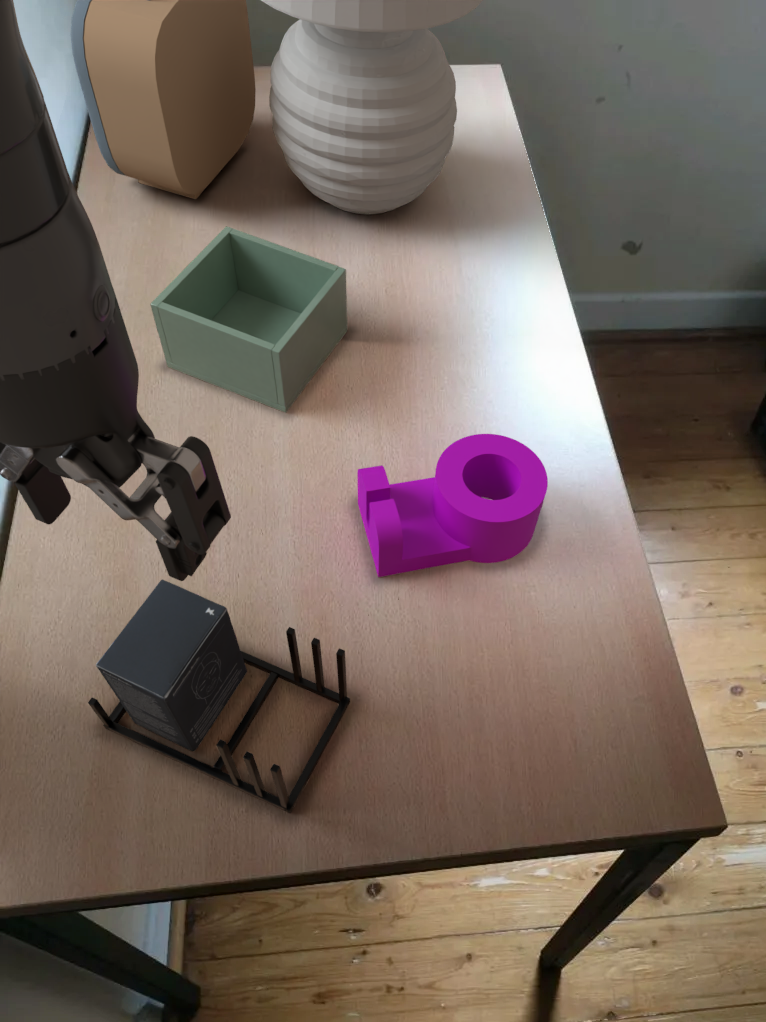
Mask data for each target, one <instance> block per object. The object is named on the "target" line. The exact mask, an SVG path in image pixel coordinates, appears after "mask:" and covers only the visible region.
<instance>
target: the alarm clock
mask: <svg viewBox="0 0 766 1022" xmlns="http://www.w3.org/2000/svg"><path fill="white" fill-rule="evenodd" d="M75 1H76V2H75V4H74V8H73V11H72V15H71V19H70V20H71V22H70V24H71V25H70V43H71V53H72V58H73V63H74V66H75V70H76V74H77V78H78V81H79V85H80V87H81V91H82V95H83V99H84V102H85V105H86V109H87V113H88V116H89V120H90V124H91V126H92V127H91V128H92V129H93V134H94V137H95V140H96V143H97V146H98V149H99V151H100V154H101V156H102V158H103V160H104V161H105V163H106V164H107V166H108V167H109V168H110V169H111V170H112V171H113V172H114V173H116V174H118V175H122V176H125V177H128V178H131V179H135V180H137V182H138V184H141V185H145V186H148V187H152V188H155V189H159V190H162V191H166V192H169V193H172V194H176V195H180V196H183V197H187V198H190V199H193V200H197V199H198V198H199V197H200V196H201V194H202V193H203V192H204V191H205V189H206V188H207V187H208V186H209V185H210V184H211V183H212V181H214V179H215V178H216V177H217V176H218V175H219V174H220V172H221V170H223V168H224V167H225V166H226V165H227V164H228V163H229V162H230V161H231V160H232V158H233V157H234V156H235V155H236V153H238V151H239V150H240V148H241V147H242V145H243V144H244V142H245V140H246V139H247V137H248V135H249V134H250V131H251V127H252V124H253V121H254V117H255V116H254V115H255V109H256V92H257V91H256V76H255V67H254V57H253V50H252V49H253V48H252V42H251V41H252V40H251V39H252V38H251V33H250V32H251V31H250V23H249V22H250V21H249V13H248V5H247V0H75Z"/></svg>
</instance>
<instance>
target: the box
mask: <svg viewBox="0 0 766 1022" xmlns="http://www.w3.org/2000/svg"><path fill="white" fill-rule="evenodd" d="M241 651H242V650H241V647H240V645H239V642H238V638H237V635H236V631H235V630H234V626H233V623H232V620H231V617H230V614H229V611H228V608H227V607H226V606H225V605H222V604H220V603H217V602H215V601H213V600H210V599H208V598H206V597H204V596H201V595H199V594H197V593H195V592H192V591H190V590H188V589H186V588H183V587H182V586H179V585H177V584H175V583H172V582H170V581H168V580H164V579H160V580H159V582H158V583H157V584H156V586H155V587H154V588H153V589H152V591H151V592H150V593H149V595H148V596H147V598H146V599H145V600H144V601H143V602H142V604H141V606H139V608H138V609H137V610H136V612H135V613H134V614H133V616H132V617H131V619H130V620H129V621H128V623H127V624H126V625H125V626H124V627H123V629H122V630H121V632H119V634H118V636H116V638H115V639H114V641H112V643H111V644H110V645H109V647H108V648H107V649H106V651H105V652H104V653H103V655H102V656H101V657H100V659H98V661H97V662H96V664H95V667H96V668H97V670H98V671H99V672H100V674H101V676H102V677H103V678H104V680H105V681H106V683H107V685H108V686H109V687H110V689H111V690H112V692H113V694H114V695H115V697H116V698H117V699H118V701H119V702H121V704H122V705H123V707H124V708H125V710H126V713H127V715H128V716H129V717H130V719H131V720H132V721H133V723H134V724H135V725H137V726H139V727H141V728H144V729H146V730H148V731H149V732H151V733H154V734H155V735H157V736H160V737H161V738H164V739H166V740H168V741H169V742H172V743H174V744H176V745H178V746H180V747H182V748H183V749H186V750H188V751H190V752H195V751H196V750H197V749H198V748H199V746H200V745H201V744H202V742H203V741H204V739H205V737H206V736H207V735H208V732H209V731H210V730H211V728H212V727H213V725H214V724H215V723H216V721H217V719H218V717H219V716H220V715H221V713H222V711H223V710H224V709H225V707H226V706H227V704H228V702H229V701H230V699H231V698H232V697H233V695H234V694H235V692H236V690H237V688H239V686H240V684H241V682H242V681H243V679H244V678H245V676H246V675H247V673H248V669H247V666H246V663H244V660H243V656H242V653H241Z"/></svg>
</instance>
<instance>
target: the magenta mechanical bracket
mask: <svg viewBox="0 0 766 1022" xmlns="http://www.w3.org/2000/svg"><path fill="white" fill-rule="evenodd" d="M434 472H435V473H434V476H433V477H427V478H426V477H425V478H422V479H415V480H408V481H403V482H396V483H390V482H389V479H388V475H387V472H386V469H385V467H384V466H383V465H375V466H369V467H363V468H358V469H357V506H358V509H359V510H358V511H359V513H360V517H361V520H362V524H363V527H364V530H365V535H366V538H367V541H368V546H369V548H370V554H371V556H372V560H373V563H374V567H375V572H376V574H377V577H378V578H382V577H383V578H384V577H388V576H393V575H399V574H404V573H408V572H409V573H410V572H414V571H421V570H424V569H430V568H435V567H442V566H447V565H451V564H457V563H463V562H474V563H479V564H496V563H501V562H504V561H507V560H511V559H512V558H514V557H517V556H518V555H519V554H520V553H522V552H523V551H524V550H525V549H526V548H527V547H528V545H529V544H530V543H531V541H532V539H533V536H534V533H535V531H536V527H537V524H538V521H539V517H540V514H541V511H542V507H543V504H544V501H545V499H546V494H547V492H548V486H549V484H548V483H549V482H548V474H547V470H546V467H545V465H544V464H543V462H542V460H541V458H540V457H539V456H538V454H536V453H535V452H534V451H533V449H531V448H530V447H528V445H526V444H524V443H522V442H520V441H519V440H516V439H515V438H511V437H508V436H505V435H502V434H497V433H496V434H495V433H477V434H472V435H466V436H464V437H462V438H459V439H457V440H455V441H454V442H452V443H450V445H448V446H447V447H446V448H445V449H444V450H443V452H442V453H441V454H440V456H439V457H438V460H437V461H436V466H435V471H434Z"/></svg>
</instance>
